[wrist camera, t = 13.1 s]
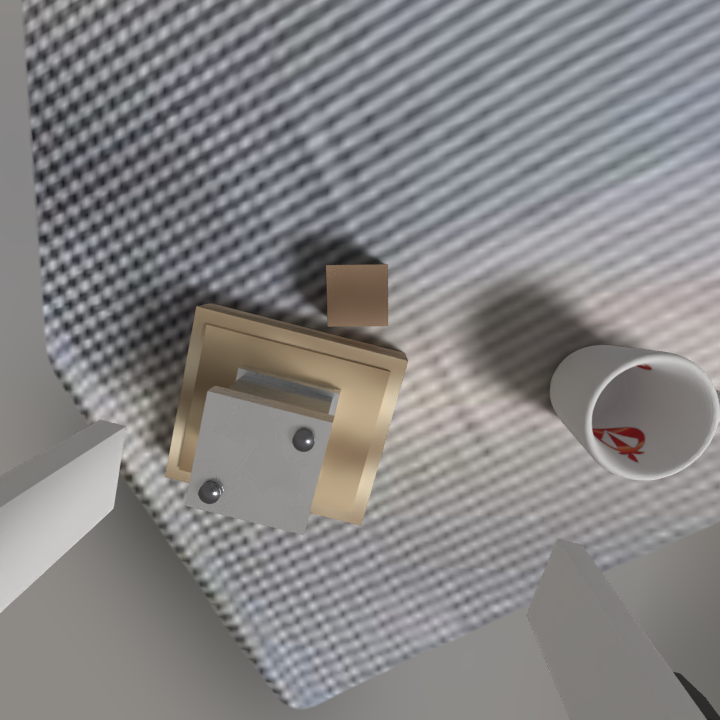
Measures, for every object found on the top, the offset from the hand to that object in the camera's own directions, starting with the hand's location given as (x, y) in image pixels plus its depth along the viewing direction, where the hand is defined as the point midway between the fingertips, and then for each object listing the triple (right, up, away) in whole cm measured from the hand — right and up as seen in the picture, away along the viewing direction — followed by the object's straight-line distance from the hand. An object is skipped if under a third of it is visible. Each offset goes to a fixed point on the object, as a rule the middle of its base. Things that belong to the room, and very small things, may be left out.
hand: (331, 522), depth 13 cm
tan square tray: (-5, +1, +22) cm, 22 cm away
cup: (+20, +3, +21) cm, 29 cm away
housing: (-5, 0, +19) cm, 19 cm away
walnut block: (+1, +10, +20) cm, 22 cm away
